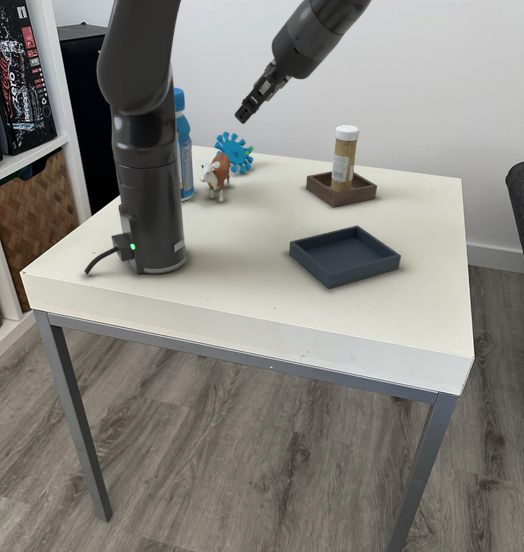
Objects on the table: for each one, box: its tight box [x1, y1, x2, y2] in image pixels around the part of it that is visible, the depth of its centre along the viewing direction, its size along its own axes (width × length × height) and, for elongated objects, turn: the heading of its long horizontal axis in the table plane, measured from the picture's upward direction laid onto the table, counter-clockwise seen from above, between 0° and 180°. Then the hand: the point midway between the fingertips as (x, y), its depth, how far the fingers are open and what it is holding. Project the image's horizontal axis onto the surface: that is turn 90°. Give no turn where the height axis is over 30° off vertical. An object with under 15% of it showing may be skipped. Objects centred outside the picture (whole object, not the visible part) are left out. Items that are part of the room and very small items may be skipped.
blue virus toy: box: [213, 131, 255, 175], centre depth 120 cm, size 11×6×10 cm
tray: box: [288, 225, 402, 290], centre depth 88 cm, size 14×12×2 cm
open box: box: [305, 170, 378, 208], centre depth 110 cm, size 11×11×3 cm
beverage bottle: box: [174, 86, 195, 202], centre depth 102 cm, size 8×8×20 cm
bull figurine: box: [199, 151, 231, 203], centre depth 106 cm, size 4×13×8 cm, turn 168°
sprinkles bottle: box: [330, 124, 360, 192], centre depth 107 cm, size 5×5×14 cm
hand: (250, 107), depth 90 cm, fingers open, 8 cm apart
